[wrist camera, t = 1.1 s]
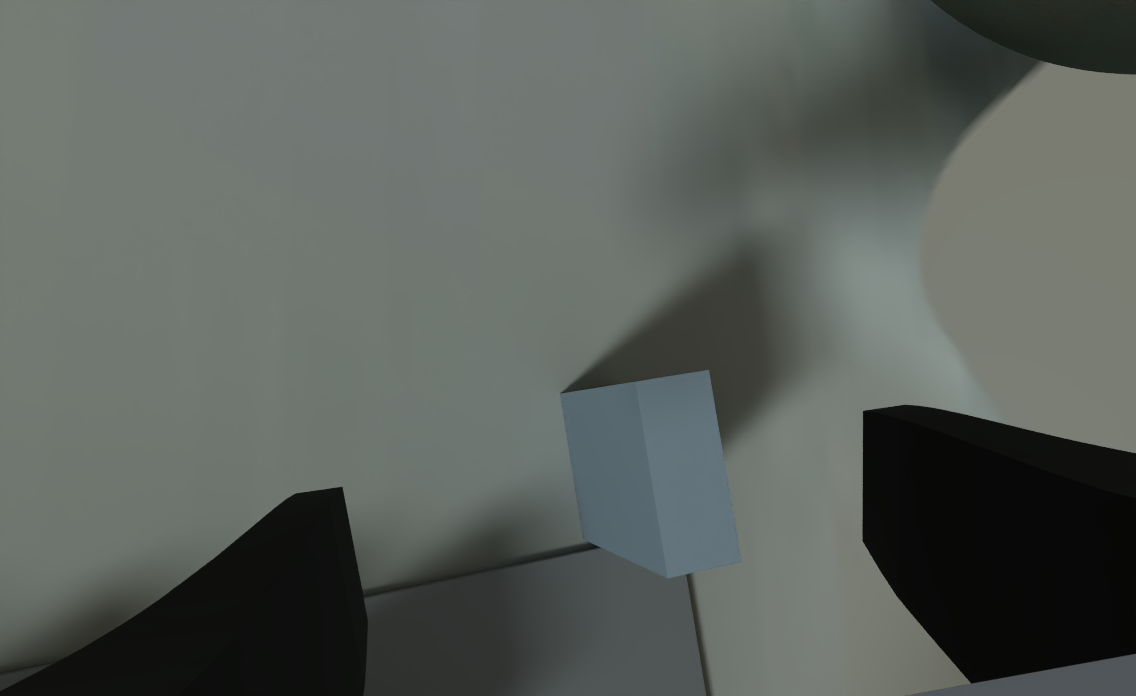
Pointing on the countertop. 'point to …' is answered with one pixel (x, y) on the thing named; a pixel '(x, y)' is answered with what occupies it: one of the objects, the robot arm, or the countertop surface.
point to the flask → (1057, 30)
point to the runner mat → (531, 633)
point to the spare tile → (652, 473)
